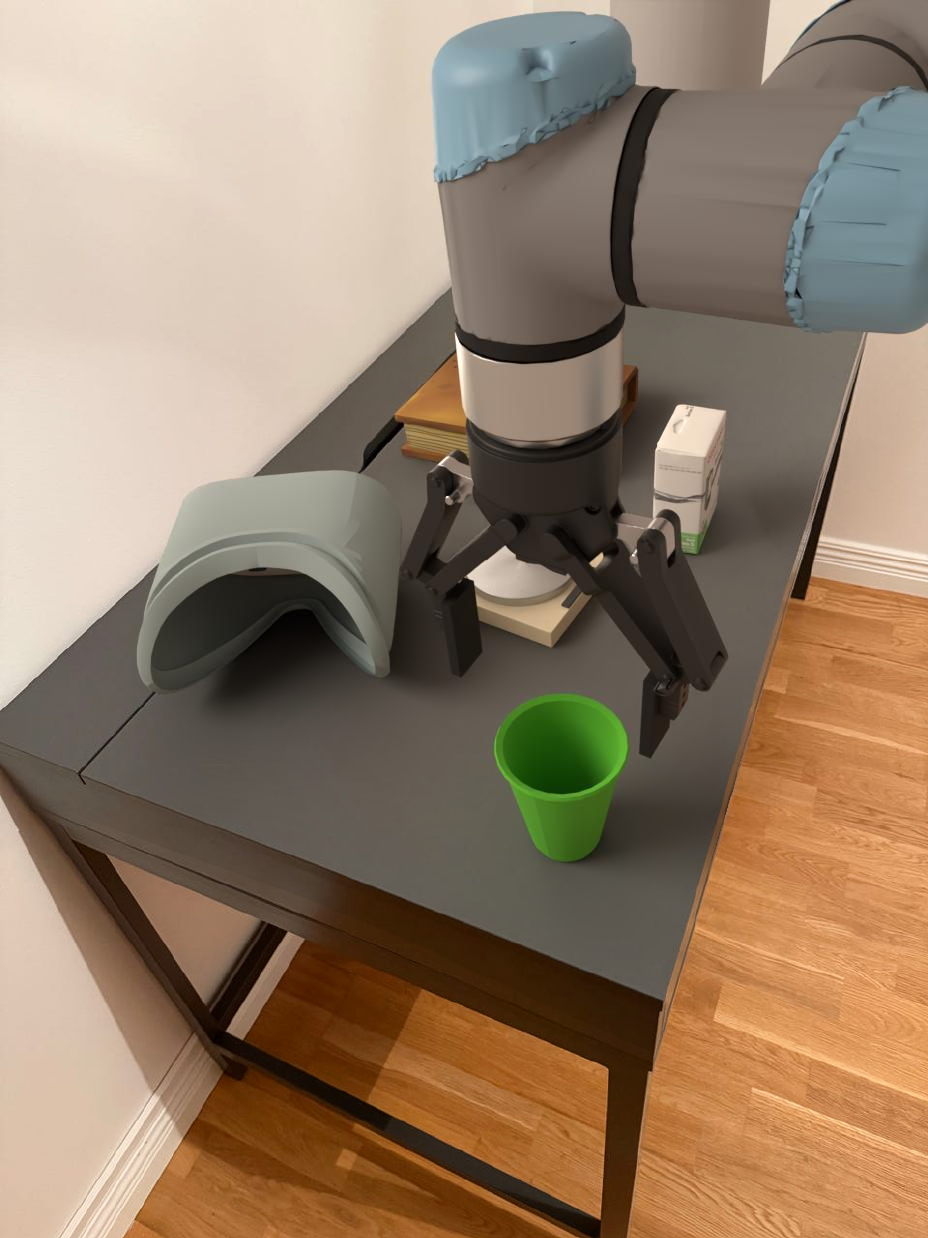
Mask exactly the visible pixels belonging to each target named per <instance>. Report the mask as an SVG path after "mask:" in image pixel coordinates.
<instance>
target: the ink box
mask: <svg viewBox="0 0 928 1238" xmlns="http://www.w3.org/2000/svg"><path fill="white" fill-rule="evenodd" d="M726 419H727V410H723V409H716V408H708V407H704V406H703V407H702V406H697V405H689V404H678V405H676V406H675V409H674V411H673V413H672V414H671V417H670V418H669V421H668V422H667V424H666V426H665V428H664V430H663V432H662V434H661V436H660V438H659V440H658V442H656V443H657V444H656V445H657V446H656V448H655V450H654V451H655V452H654V472H653V473H654V475H653V476H654V477H653V501H652V502H653V504H652V506H653V507H652V518H655V517H656V516H657V514H658V513H659V512H660V511H661V510H663V509H670V510H672V511H674V512H675V513H677V515H678V516H679V518H680V521H681V542H682V550H683V552H684V554H692V555H698V554H699V552H700V549H701V546H702V544H703V542H704V540H705V539H704V538H705V537H706V533H707V531H708V528H709V526H710V523H711V521H712V518H713V515H714V513H715V510H716V507H717V502H718V495H719V486H720V478H721V468H722V459H723V449H724V442H725V441H724V440H725V431H726V430H725V429H726Z"/></svg>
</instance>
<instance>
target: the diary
mask: <svg viewBox="0 0 928 1238" xmlns="http://www.w3.org/2000/svg"><path fill="white" fill-rule="evenodd" d="M638 399H639V368H638V366H637V365H633V364H625V363H623V397H622V400H621V403H620V408H621V410H622V415H623V419H622V428H623V427H624V426H625V424H626V422H627V421H628V420H629V418H630V417H631V415H632V413H633V412H634V410H635V409H636V407H637V403H638ZM466 419H467V417H466V415H465V412H464V409H463V406H462V397H461V387H460V378H459V368H458V358H457V351H455V352H454V354H452V355H451V356H450V357H449V358H448V360H447V361H446V362H445V363H443V364H442V366H441V367H440V368H439V369H438V370H437V371H436V372H434V374H433V375H432V376H431V377H429V379H427V380H426V382H425V383H424V384H423V385H422V386H421V387H420V388H419V389H418V390H416V392H415V393H414V394H413V395H412V396H411V397H410V398H409V399H408V400H407V401H406V402H404V404H403V405H402V406H401V407H400V408H399V409H398V410H397V411H396V412H395V413H394V420H395V422H398V423H403V426H404V430H405V437H406V442H405V443H404V445H403V446H402V447H401V448H400V451H401V456H405V457H410V458H416V459H422V460H425V461H431V462H437V463H440V462H441V461H442V460H443V459H444V458H446V457H447V456H448V455H449V454H450V453H451V452H452V451H453V450H456V449H457V450H461V451H462V452H464V453H465V454H466V455H467V457H468V460H469V452H468V443H467V434H466ZM469 466H470V461H469Z"/></svg>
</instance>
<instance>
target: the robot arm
mask: <svg viewBox="0 0 928 1238" xmlns="http://www.w3.org/2000/svg"><path fill="white" fill-rule="evenodd" d="M430 70H431V71H430V96H431V97H430V98H431V99H430V100H431V113H432V116H431V117H432V130H433V131H432V132H433V150H434V166H433V168H432V175H433V182H434V183H436V184H437V190H438V196H439V203H440V210H441V217H442V226H443V232H444V233H443V234H444V239H445V246H446V254H447V255H446V256H447V262H448V271H449V278H450V285H451V292H452V301H453V313H454V314H453V318H454V324H455V330H454V337H455V347H456V352H457V358H458V368H459V378H460V387H461V397H462V406H463V409H464V412H465V415H466V417H467V419H466V434H467V443H468V452H469V460H468V457H467V455H466V454H465V453H464V452H462V451H461V450H457V449H456V450H453V451H452V452H451V453H450V454H449V455H448V456H447V457H446V458H444V459H443V460H442V461H441V462H438V464H436V466H434V467H433V468H432V469H431V470H430V471H429V472H428V473H427V474H426V496H427V497H426V498H427V500H426V503H425V504H426V505H425V507H424V509H423V512H422V515H421V517H420V518H419V522H418V524H417V526H416V529H415V531H414V534H413V536H412V539H411V541H410V543H409V546H408V549H407V551H406V554H405V556H404V558H403V561H402V563H401V566H400V567H399V574H400V575H401V577H402V578H403V579H404V580H405V581H407V582H409V583H414V582H415V581H419V582H420V583H422V584H423V585H424V589H425V592H426V593H427V594H428V595H429V596H430V597H431V601H432V607H433V613H434V619H435V622H436V625H437V626H438V628H439V629H441V630H444V636H445V642H446V647H447V654H448V655H447V656H448V660H449V667H450V672H451V675H453V676H455V677H456V678H457V677H458V678H460V679H461V678H463V676H464V675H465V674H466V673H467V672H468V670H469V669H470V668H471V667H472V665H474V664H475V662H476V661H477V660H478V658H479V657H480V656H481V655H482V654H483V652H484V651H483V642H482V634H481V626H480V621H479V617H478V609H477V601H476V593H475V585H474V581H473V580H470V579H468V578H465V577H466V576H467V575H468V574H469V573H471V572H472V571H473V570H474V569H475V568H477V567H478V566H479V565H480V564H482V563H483V562H484V561H485V560H486V561H487V560H488V559H489V558H491V557H492V556H493V555H494V554H495V553H497V552H498V551H499V550H500V549H502V548H503V547H504V546H506V547H507V548H508V549H509V550H510V551H511V552H512V553H514V554H515V555H516V559H517V560H520V561H523V562H526V563H530V564H539V565H542V566H544V567H545V568H547V569H549V570H551V571H552V572H555V573H558V574H561V575H564V576H566V575H567V574H569V575H570V577H571V578H572V579H573V581H574V582H575V583H576V585H577V586H578V587H579V589H580V590H581V591H582V592H583V593H584V594H585V595H587V596H589V595H592V597H594V598H595V600H596V601H597V602H598V604H599V605H600V606H601V607H602V609H603V610H604V611H605V612H606V614H607V615H608V617H609V618H610V619H611V620H612V622H613V623H614V624H615V626H616V627H617V628H618V630H619V631H620V632H621V633H622V635H623V636H624V637H625V639H626V640H627V641H628V642H629V644H630V645H631V646H632V648H633V650H634V651H635V652H636V653H637V654H638V656H639V658H640V659H641V660H642V661H643V662H644V664H645V665H646V666H647V668H648V669H649V671H648V673H647V675H646V676H645V677H644V679H643V680H642V693H641V712H640V727H639V729H640V730H639V745H638V755H640V756H643V757H646V758H648V759H652V757H653V755H654V754H655V752H656V750H657V749H658V748H659V746H660V744H661V742H662V741H663V739H664V738H665V736H666V735H667V733H668V731H669V729H670V725H671V721H673V722H674V721H675V720H676V719H677V718H678V717H679V716H680V714H681V712H682V711H683V709H684V707H685V705H686V704H687V702H688V700H689V693H690V685H691V687H693V688H694V689H695V690H697V691H699V692H702V693H703V692H709V691H710V690H711V689H712V687H713V686H714V685H715V682H716V680H717V679H718V677H719V675H720V674H721V672H722V670H723V668H724V667H725V665H726V663H727V661H728V660H729V657H730V656H729V652H728V651H727V648H726V646H725V644H724V642H723V641H724V640H723V639H722V637H721V634H720V632H719V630H718V627H717V625H716V623H715V621H714V618H713V615H712V613H711V612H710V609H709V607H708V605H707V603H706V600H705V597H704V595H703V594H702V591H701V589H700V586H699V584H698V583H697V580H696V577H695V575H694V573H693V571H692V568H691V566H690V563H689V562H688V559H687V556H686V554H685V552H683V550H682V542H681V521H680V518H679V516H678V515H677V513H675V512H674V511H672V510H670V509H663V510H661V511H660V512H659V513H658V514H657V516H656V517H655V518H653V517H648V516H642V515H638V514H632V513H629V512H626V509H625V507H624V505H623V503H622V501H621V497H620V494H619V489H620V488H619V487H620V482H621V474H622V460H623V459H622V457H623V456H622V455H623V454H622V452H623V448H622V447H623V427H622V419H623V415H622V410H621V408H620V403H621V400H622V397H623V364H624V354H625V353H624V349H625V348H624V347H625V320H626V306H629V307H636V308H637V307H638V308H644V309H647V308H654V309H662V310H668V311H675V312H681V313H682V312H683V313H691V314H698V315H703V316H710V317H711V316H712V317H719V318H726V319H732V320H740V321H747V322H753V323H761V324H769V325H775V326H783V327H789V328H797V329H800V330H801V331H805V332H808V333H812V334H819V335H820V334H822V333H824V334H825V333H826V334H830V333H833V332H837V331H838V332H855V333H857V332H858V333H874V334H886V335H888V334H889V335H904V334H905V335H906V334H909V333H913V332H916V331H918V330H920V329H922V328H924V326H926V325H927V324H928V0H839V1H837V2H835V3H834V4H831V6H829V8H827V10H825V11H824V13H822V14H820V15H819V16H818V17H816V18H814V19H812V21H811V22H810V23H809V24H808V25H807V26H806V27H805V28H804V29H803V31H802V32H801V33H800V35H798V37H797V38H796V40H795V41H794V43H792V45H791V46H790V48H789V50H788V52H787V53H786V54H785V56H784V57H783V59H782V60H781V61H780V62H779V63H778V64H777V66H776V67H775V68H774V70H773V71H772V72H771V73H770V74H769V76H768V77H767V78H766V79H765V80H764V82H762V84H761V86H760V87H759V88H758V89H757V90H693V91H682V90H681V89H662V88H660V87H657V86H639V85H636V84H635V83H636V67H635V66H634V64H633V63H632V43H631V38H630V35H629V33H628V31H627V30H626V27H625V26H624V25H623V24H622V23H621V22H619V21H618V20H617V19H615V18H613V17H610V15H606V14H599V13H595V14H587V13H586V12H584V11H574V10H572V11H571V10H560V11H559V10H557V11H544V12H543V11H542V12H534V13H525V14H519V15H513V16H507V17H502V18H497V19H492V20H488V21H486V22H482V23H478V24H476V25H474V26H471V27H469V28H466V29H464V30H462V31H460V32H459V33H457V34H456V35H454V36H452V37H450V38H449V39H448V40H447V41H446V42H445V43H444V44H443V45H442V46H441V48H440V49H439V50H438V52H437V54H436V55H435V57H434V59H433V61H432V66H431V69H430ZM469 461H470V466H469ZM471 495H472V499H473V501H474V504H475V505H476V506H477V508H478V509H479V510H480V512H481V514H482V515H483V517H484V518H485V519H486V521H487V522H488V523H489V524H488V525H487V526H486V527H485V528H484V529H483V530H481V531H480V532H479V533H478V534H477V535H476V536H475V537H473V538H472V539H471V540H470V541H469V542H468V543H466V545H464V546H463V547H462V548H461V549H459V550H458V551H457V552H456V553H455V554H453V555H452V556H451V557H450V558H449V559H448V560H447V561H446V562H445V561H443V560H442V559H441V558H439V555H440V554H441V551H442V549H443V547H444V544H445V542H446V540H447V538H448V535H449V533H450V531H451V529H452V527H453V525H454V522H455V521H456V518H457V516H458V514H459V512H460V510H461V508H462V506H463V503H464V502H465V501H466V500H468V498H469V497H470V496H471ZM601 553H603V559H602V560H601V562H600V563H599V564H598V566H597V567H596V568H595V569H593V567H592V566H591V565H590V562H591V561H592V560H594V559H595V558H596V557H597V556H598V555H600V554H601ZM633 565H637V566H638V571H639V573H638V571H637V570H636V568H635V567H634V566H633Z"/></svg>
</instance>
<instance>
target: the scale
mask: <svg viewBox="0 0 928 1238" xmlns="http://www.w3.org/2000/svg"><path fill="white" fill-rule="evenodd" d="M602 559H603V553H601V554H600V555H598V556H597V557H596V558H595V559H594V560H592V561H591V562H590V565H591V566H592V567H593V569H595V568H596V567H597V566H598V564H599V563H600V562H601V560H602ZM465 578H466V577H465ZM592 597H593V596H592V595H589V596H587V595H585V594H584V593H583V592H582V591H581V590H580V589H579V587H578V586H577V585H576V583H575V582H574V581H573V582H572V583H571V585H570V586H569V587H568V588H567V589H566V590H565V591H563V592H562V593H561V594H559V595H558V596H556V597H554V598H552V599H550V600H547V601H545V602H542V603H538V604H534V605H528V606H507V605H501V604H497V603H493V602H490V601H488V600H486V599H484V598H482V597H481V596H479V595H478V594H477V593H476V601H477V609H478V617H479V622H483V623H485V624H488V625H490V626H491V627H495V628H497V629H500V630H503V631H506V632H509V633H511V634H514V635H516V636H519V637H521V638H523V639H524V638H525V639H527V640H529V641H532V642H535V643H538V644H541V645H543V646H546V647H548V648H551V649H553V648H554V646H555V644H557V642H558V641H559V640H560V638H561V637H562V636H563V634H564V633H565V632H566V631H567V629H568V628H569V627H570V626H571V624H572V622H573V621H574V620H575V619H576V617H577V616H578V615H579V613H581V611H582V610H583V608H585V606H586V604H587V603H588V602H589V600H590V599H591V598H592Z"/></svg>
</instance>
